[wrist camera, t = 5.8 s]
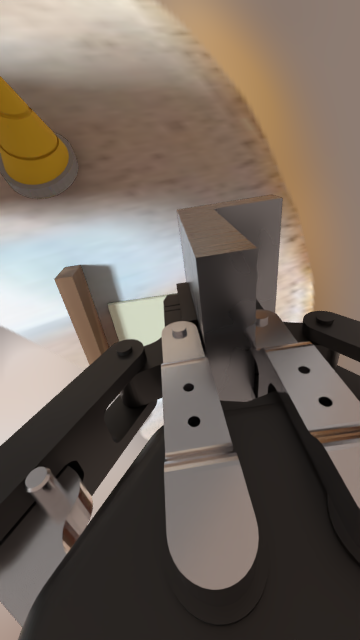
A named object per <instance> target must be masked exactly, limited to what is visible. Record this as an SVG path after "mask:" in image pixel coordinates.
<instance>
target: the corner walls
mask: <svg viewBox="0 0 360 640" xmlns="http://www.w3.org/2000/svg"><path fill="white" fill-rule="evenodd" d="M55 282H56V284H57V287H58V289H59V292H60V294H61V296H62V299H63V301H64V304H65V306H66V309H67V311H68V314H69V316H70V318H71V321H72V323H73V326H74V328H75V331H76V333H77V335H78V338H79V340H80V343H81V345H82V348H83V350H84V352H85V355H86V357H87V360H88V362H89V365H91V364H92V363H93V362H94V361H95V360H96V359H97V358H99V357H100V356H101V355H102V354H103V353H104V352H105V351H106V350H107V349H109V346H108V343H107V340H106V337H105V334H104V332H103V329H102V326H101V323H100V320H99V317H98V314H97V311H96V308H95V305H94V302H93V299H92V297H91V294H90V291H89V288H88V285H87V282H86V279H85V276H84V273H83V270H82V267H81V265H77V266H70V267H65V268H64V269H63V270H62V271H61V272H60V273H59V274H58V276H57V277H56V278H55ZM119 394H120V393H119Z"/></svg>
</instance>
